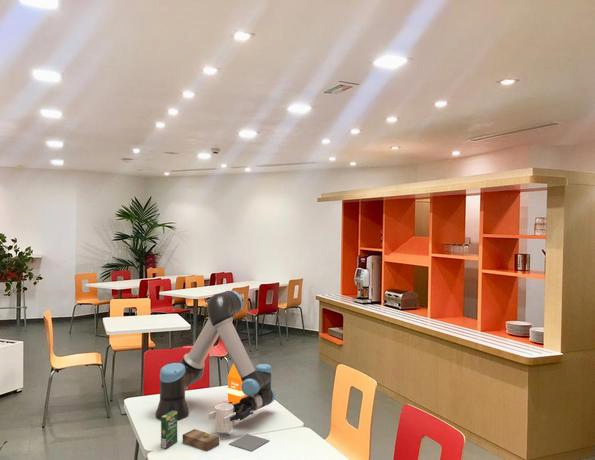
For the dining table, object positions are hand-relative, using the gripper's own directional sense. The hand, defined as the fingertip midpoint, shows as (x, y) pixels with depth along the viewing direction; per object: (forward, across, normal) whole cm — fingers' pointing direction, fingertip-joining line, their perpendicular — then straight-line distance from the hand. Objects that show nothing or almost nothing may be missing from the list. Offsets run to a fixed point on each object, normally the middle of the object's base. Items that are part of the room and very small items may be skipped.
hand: (216, 419), depth 214 cm
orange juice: (-38, +19, -9) cm, 43 cm away
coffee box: (+15, +12, -9) cm, 21 cm away
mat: (-5, -14, -8) cm, 17 cm away
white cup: (-5, 0, -6) cm, 8 cm away
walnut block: (+7, +2, -9) cm, 11 cm away
